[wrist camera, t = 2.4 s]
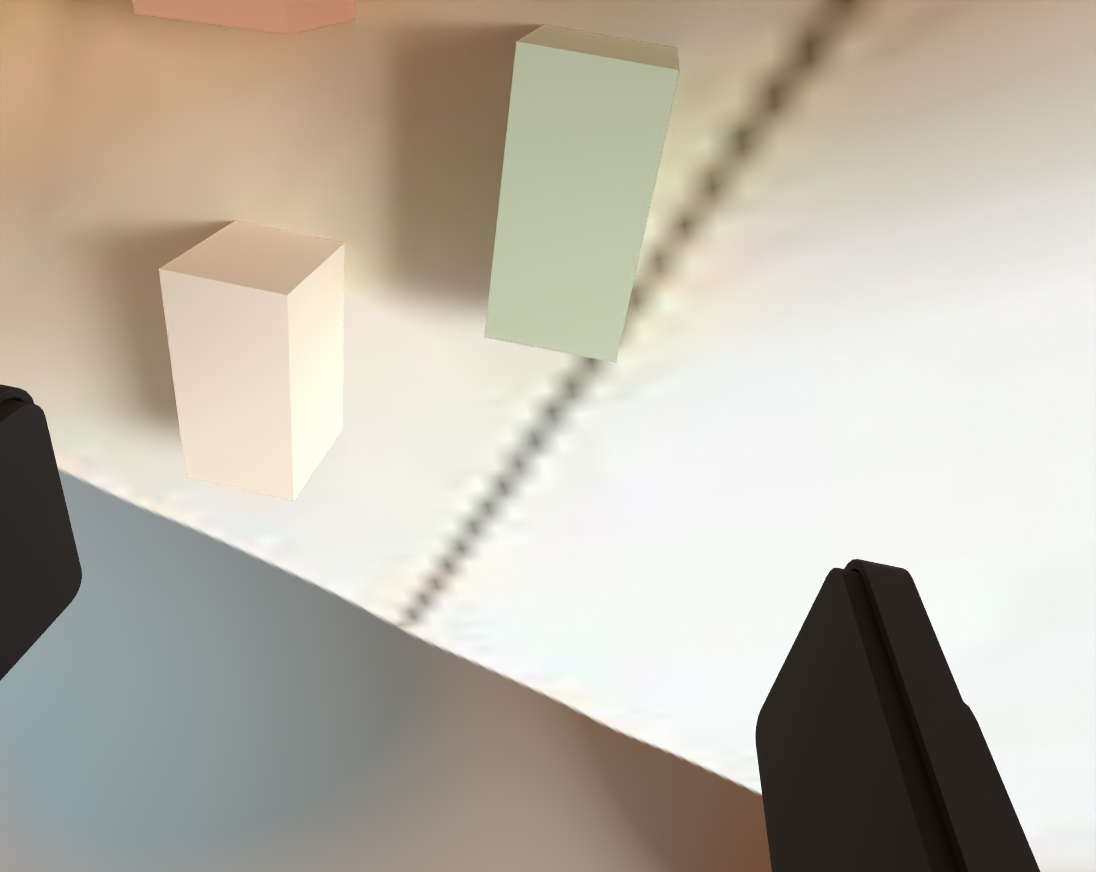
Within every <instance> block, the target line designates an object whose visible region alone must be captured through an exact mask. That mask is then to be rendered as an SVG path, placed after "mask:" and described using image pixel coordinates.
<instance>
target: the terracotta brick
mask: <svg viewBox="0 0 1096 872" xmlns="http://www.w3.org/2000/svg"><path fill="white" fill-rule="evenodd" d="M132 4H133V10H134V14H140V15H147V16H154V17H162V18H169V19H176V20H184V21H191V22H198V23H206V24H213V25H220V26H227V27H235V28H242V29H249V30H257V31H264V32H271V33H278V34H286V35H289V34H293V33H297V32H302V31H306V30H311V29H315V28H320V27H324V26H328V25H333V24H337V23H342V22H346V21H351V20H355V15H354V0H132Z"/></svg>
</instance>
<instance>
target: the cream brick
mask: <svg viewBox="0 0 1096 872" xmlns="http://www.w3.org/2000/svg"><path fill="white" fill-rule="evenodd" d="M344 259H345V243H343V242H338V241H333V240H328V239H323V238H318V237H314V236H309V235H304V234H299V233H294V232H289V231H284V230H279V229H274V228H269V227H264V226H260V225H255V224H250V223H245V222H240V221H234V222H232V223H231V224H229V225H227V226H226V227H224V228H223V229H221V230H219V231H218V232H216V233H215V234H213V235H211V236H210V237H208V238H207V239H205V240H204V241H202V242H200V243H199V244H197V245H196V246H194V247H192V248H191V249H189V250H188V251H186V252H184V253H183V254H181V255H180V256H178V257H177V258H175V259H173V260H172V261H170V262H169V263H167V264H165V265H164V266H162V267H161V268H159V275H160V283H161V291H162V298H163V306H164V314H165V321H166V329H167V337H168V345H169V352H170V360H171V368H172V375H173V383H174V391H175V399H176V406H177V414H178V422H179V429H180V437H181V445H182V452H183V460H184V468H185V476H186V478H188V479H193V480H197V481H202V482H207V483H212V484H216V485H221V486H226V487H230V488H235V489H240V490H244V491H249V492H254V493H259V494H263V495H268V496H273V497H277V498H282V499H287V500H291V501H294V500H295V498H296V497H297V496H298V494H299V493H300V491H301V490H302V488H303V487H304V485H305V484H306V482H307V481H308V479H309V478H310V476H311V475H312V473H313V472H314V470H315V469H316V467H317V466H318V465H319V463H320V462H321V460H322V459H323V457H324V456H325V454H326V453H327V451H328V450H329V448H330V447H331V445H332V444H333V442H334V441H335V439H336V438H337V436H338V435H339V434H340V432H341V431H342V420H343V339H344Z"/></svg>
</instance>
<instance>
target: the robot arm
mask: <svg viewBox="0 0 1096 872" xmlns="http://www.w3.org/2000/svg"><path fill="white" fill-rule="evenodd" d="M81 579H82V571H81V566H80V562H79V557H78V553H77V549H76V545H75V540H74V536H73V532H72V528H71V523H70V519H69V515H68V511H67V507H66V503H65V498H64V494H63V489H62V485H61V481H60V477H59V472H58V468H57V464H56V460H55V455H54V451H53V447H52V443H51V438H50V434H49V430H48V426H47V422H46V417H45V415H44V412H43V410H42V409H41V408H40V407H39V406H37V405H35V404H34V402H33V399H32V397H31V396H30V395H29V394H28V393H27V392H26V391H24V390H22V389H20V388H15V387H10V386H5V385H1V384H0V680H1V679H2V678H3V677H4V676H5V675H6V674H7V673H8V671H9V670H10V669H11V668H12V667H13V666H14V665H15V664H16V663H17V662H18V660H19V659H20V658H21V657H22V656H23V655H24V654H25V653H26V652H27V651H28V649H29V648H30V647H31V646H32V645H33V644H34V643H35V642H36V641H37V639H38V638H39V637H40V636H41V635H42V634H43V633H44V632H45V631H46V629H47V628H48V627H49V626H50V625H51V624H52V623H53V622H54V621H55V620H56V618H57V617H58V616H59V615H60V614H61V613H62V612H63V610H65V608H66V607H67V606H68V605H69V604H70V603H71V602H72V600H73V599H74V597H75V596H76V594H77V592H78V590H79V587H80V584H81ZM756 749H757V757H758V764H759V772H760V780H761V788H762V796H763V804H764V812H765V820H766V827H767V836H768V843H769V851H770V859H771V867H772V872H1040V870H1039V868H1038V865H1037V863H1036V860H1035V858H1034V856H1033V853H1032V851H1031V848H1030V846H1029V844H1028V841H1027V839H1026V837H1025V834H1024V832H1023V829H1022V827H1021V825H1020V822H1019V820H1018V817H1017V815H1016V813H1015V810H1014V808H1013V806H1012V803H1011V801H1010V798H1009V796H1008V794H1007V791H1006V789H1005V786H1004V784H1003V782H1002V779H1001V777H1000V774H999V772H998V770H997V767H996V765H995V763H994V760H993V758H992V755H991V753H990V751H989V748H988V746H987V743H986V741H985V739H984V736H983V734H982V732H981V729H980V727H979V724H978V722H977V720H976V718H975V716H974V715H973V713H972V711H971V709H970V708H969V706H968V705H966V704H965V703H964V702H963V700H962V698H961V695H960V693H959V690H958V688H957V686H956V683H955V681H954V678H953V676H952V673H951V671H950V669H949V666H948V664H947V661H946V659H945V656H944V654H943V651H942V649H941V647H940V644H939V642H938V639H937V637H936V634H935V632H934V630H933V627H932V625H931V622H930V620H929V617H928V615H927V613H926V610H925V608H924V605H923V603H922V600H921V598H920V596H919V593H918V591H917V588H916V586H915V583H914V581H913V578H912V577H911V575H910V574H909V572H908V571H906V570H905V569H903V568H898V567H894V566H889V565H884V564H879V563H874V562H869V561H864V560H859V559H855V560H852V561H850V562H849V563H848V564H847V566H846V567H845V569H840V568H833V569H832V570H831V571H830V572H829V574H828V575H827V577H826V579H825V581H824V583H823V585H822V587H821V589H820V591H819V593H818V595H817V597H816V599H815V601H814V603H813V605H812V607H811V609H810V611H809V613H808V616H807V618H806V620H805V622H804V624H803V626H802V628H801V630H800V632H799V634H798V636H797V638H796V640H795V642H794V644H793V646H792V648H791V650H790V652H789V654H788V656H787V658H786V660H785V662H784V664H783V666H782V668H781V670H780V672H779V674H778V676H777V678H776V680H775V682H774V684H773V686H772V688H771V690H770V692H769V694H768V696H767V698H766V701H765V703H764V705H763V707H762V709H761V711H760V713H759V716H758V720H757V726H756Z"/></svg>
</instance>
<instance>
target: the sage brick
mask: <svg viewBox="0 0 1096 872" xmlns="http://www.w3.org/2000/svg"><path fill="white" fill-rule="evenodd" d="M678 75H679V60H678V49H677V48H674V47H668V46H662V45H657V44H651V43H645V42H640V41H634V40H629V39H623V38H617V37H612V36H606V35H600V34H595V33H589V32H583V31H578V30H572V29H566V28H561V27H555V26H549V25H542V26H540V27H539V28H537V29H536V30H534V31H532V32H531V33H529V34H527V35H526V36H524V37H522V38H521V39H519V40H518V41H516V49H515V58H514V67H513V77H512V86H511V95H510V104H509V114H508V123H507V132H506V141H505V151H504V160H503V169H502V178H501V188H500V197H499V206H498V216H497V225H496V234H495V243H494V253H493V262H492V271H491V280H490V290H489V299H488V308H487V317H486V327H485V336H484V337H485V338H491V339H496V340H501V341H506V342H512V343H517V344H522V345H527V346H533V347H538V348H543V349H548V350H553V351H559V352H564V353H569V354H574V355H580V356H585V357H590V358H595V359H601V360H606V361H611V362H616V359H617V355H618V350H619V346H620V341H621V336H622V332H623V327H624V323H625V318H626V314H627V309H628V304H629V300H630V295H631V291H632V286H633V281H634V277H635V272H636V268H637V263H638V258H639V254H640V249H641V245H642V240H643V236H644V231H645V226H646V222H647V217H648V213H649V208H650V203H651V199H652V194H653V190H654V185H655V180H656V176H657V171H658V167H659V162H660V158H661V153H662V148H663V144H664V139H665V135H666V130H667V125H668V121H669V116H670V112H671V107H672V102H673V98H674V93H675V89H676V84H677V80H678Z"/></svg>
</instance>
